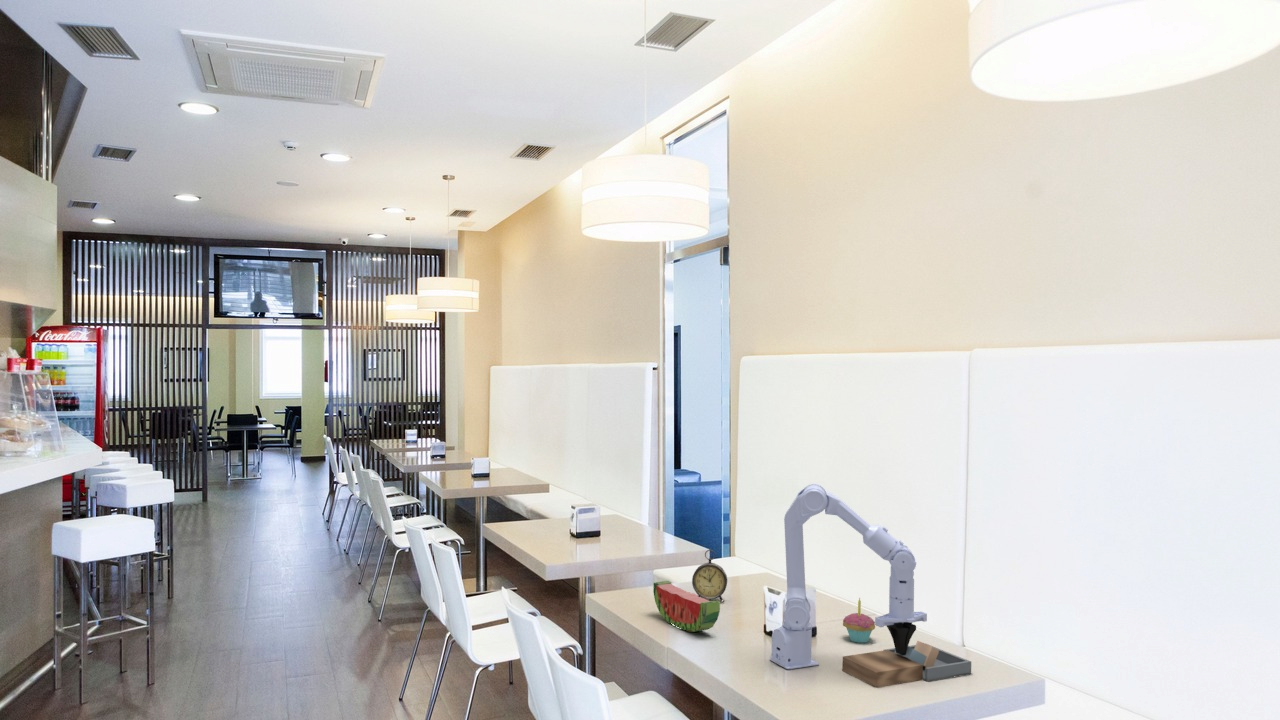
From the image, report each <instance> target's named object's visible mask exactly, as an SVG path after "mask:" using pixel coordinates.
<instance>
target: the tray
mask: <svg viewBox="0 0 1280 720" xmlns="http://www.w3.org/2000/svg"><path fill="white" fill-rule="evenodd" d="M926 644H927V645H930V644H928V643H926ZM915 646H916V644H913V645H908V647H911V648H913V649H914V648H915ZM930 646H932V647H934V648H936V649H938V650H939V653H938V656H937V658H936V661H935V663H934V666H933V667H924V666H923V680H922V681H925V682H927V681H929V682H933V681H932V680H935V681H939V679H940V680H944V679H943V678H946V679H950V678H949V677H952V678H955V677H954V676H958V677H960V676H959V675H964V676H967V675H966V674H969V675H972V661H970V660H968V659H966V658H964V657H960V656H958V655H956V654H953V653H950V652H948V651H946V650H943V649H941V648H938V647H936V646H934V645H930ZM884 650H889V651H891V652H894V653H895V647H893V648H886V649H884Z"/></svg>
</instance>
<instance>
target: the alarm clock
mask: <svg viewBox="0 0 1280 720" xmlns="http://www.w3.org/2000/svg"><path fill="white" fill-rule="evenodd" d="M709 551H710V552H712V553H713V554H714V556H713V558H711V557H709V558H708V557H707V553H708V552H709ZM704 557H705V558H706V560H708V562H704V563H702V564H700V565H699V566H698V567H697V568H696V569H695V571H694V573H693V575H692V579H691V583H692V584H691V585H692V588H693V590H694V591H695V594H696V595H697V596H698V597H700V598H703V599H706V600H709V601H712V600H715V599H718V598H719V599H720V601H722V600H724V599H723V597H722V595H723V594H724V593H725V591H726V590H727V586H728V585H727V584H728V575H727V573H726V571H725V570H724V568H723V567H722V566H720V565H718V564H717V563H715V562H712V560H714V559H715V557H716V551H714V550H713V549H707V550H706V551H705V553H704Z"/></svg>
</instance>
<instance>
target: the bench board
mask: <svg viewBox="0 0 1280 720" xmlns="http://www.w3.org/2000/svg"><path fill="white" fill-rule="evenodd" d="M841 665H842V668H841V669H842V672H844V673H846V674H848V675H850V676H852V677H854V678H855V679H858V680H860V681H862V682H865V683H866V684H868V685H869V686H872V687H875V688H881V687H887V686H888V687H889V686H893V685H899V684H904V683H906V684H907V683H912V682H917V680H918V681H923V680H922V679H923V665H921V664H919V663H917V662H914V661H912V660H910V659H908V658H905V657H903V656H901V655H898V654H896V653H894V652H891V651H889V650H885V649H883V650H877V651H871V652H865V653H863V652H862V653H857V654H851V655H843V656H842V664H841ZM911 681H912V682H911Z"/></svg>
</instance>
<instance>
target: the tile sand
mask: <svg viewBox="0 0 1280 720" xmlns="http://www.w3.org/2000/svg"><path fill="white" fill-rule="evenodd" d="M916 641H917V642H916V643H915V645H916V646H915V648H914V649H915V650H916V651H918V652H920V653H922V654H923V655H925V656H927V657H926V660H925V662H924V665H923V666H924V667H933V666H934V663H935V661H936V658H937V656H938V653H939V650H938V649H939V648H938V649H936V648H937V647H936V648H934V647H935V646H933V645H931V646H930V644H928V643H925V642H922V641H920V640H916ZM927 644H928V645H927ZM932 646H933V647H932Z"/></svg>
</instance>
